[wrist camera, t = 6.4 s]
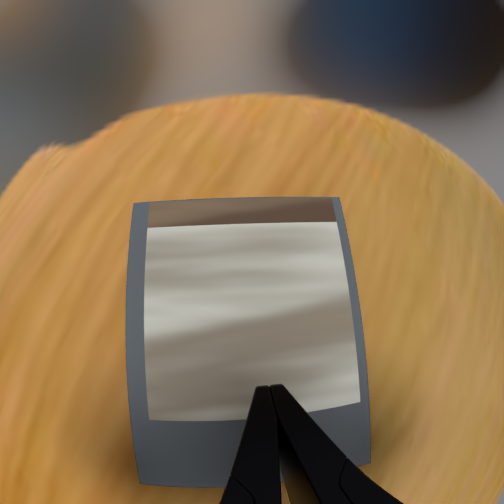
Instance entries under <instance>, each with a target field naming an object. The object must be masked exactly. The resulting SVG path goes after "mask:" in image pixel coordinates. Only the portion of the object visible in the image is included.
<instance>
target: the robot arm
mask: <svg viewBox="0 0 504 504" xmlns="http://www.w3.org/2000/svg"><path fill="white" fill-rule="evenodd" d="M280 469H281V473H282V476H283V479H284V483H285V486H286V489H287V493H288V496H289V499H290V503H291V504H403V503H402V502H400V501H399V500H398V499H396V498H395V497H393V496H392V495H391V494H389V493H388V492H387V491H385V490H384V489H382V488H381V487H380V486H378V485H377V484H376V483H375V482H373V481H372V480H371V479H370V478H369V477H367V476H366V475H365V474H364V473H363V472H362V471H361V470H360V469H359V468H358V467H357V466H356V465H355V464H354V463H353V462H352V461H351V460H350V459H349V458H347V456H346V455H345V454H344V453H343V452H342V451H341V450H340V448H339V447H338V446H337V445H336V444H335V443H334V442H333V441H332V440H331V439H330V438H329V437H328V435H327V434H326V433H325V432H324V431H323V430H322V429H321V428H320V427H319V425H318V424H317V423H316V422H315V421H314V420H313V419H312V418H311V416H310V415H309V414H308V413H307V412H306V411H305V410H304V408H303V407H302V406H301V405H300V404H299V403H298V401H297V400H296V399H295V398H294V397H293V396H292V394H291V393H290V392H289V391H288V390H287V389H286V387H285V386H284V385H283V384H272V385H270V386H268V385H261V386H256V387H255V391H254V394H253V398H252V401H251V405H250V409H249V412H248V416H247V419H246V423H245V426H244V430H243V433H242V436H241V440H240V443H239V447H238V450H237V453H236V457H235V460H234V463H233V466H232V470H231V473H230V476H229V479H228V482H227V485H226V488H225V491H224V493H223V496H222V499H221V501H220V503H219V504H282V503H281V480H280Z"/></svg>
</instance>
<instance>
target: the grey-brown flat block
mask: <svg viewBox="0 0 504 504" xmlns="http://www.w3.org/2000/svg"><path fill="white" fill-rule="evenodd" d="M144 349H145V372H146V388H147V401H148V413H149V420H164V421H224V420H242V419H247V416H248V412H249V409H250V405H251V401H252V398H253V394H254V391H255V387H256V386H261V385H268V386H270V385H272V384H283V385H284V386H285V387H286V389H287V390H288V391H289V392H290V393H291V394H292V396H293V397H294V398H295V399H296V400H297V401H298V403H299V404H300V405H301V406H302V407H303V408H304V410H305V411H306V412H312V411H318V410H323V409H329V408H334V407H339V406H344V405H349V404H353V403H358V402H360V388H359V374H358V363H357V352H356V342H355V333H354V325H353V317H352V309H351V302H350V295H349V288H348V282H347V276H346V270H345V264H344V258H343V252H342V247H341V241H340V236H339V231H338V226H337V221H336V216H335V211H334V207H333V202H332V198H239V199H209V200H187V201H169V202H153V203H150V206H149V216H148V228H147V242H146V258H145V283H144Z"/></svg>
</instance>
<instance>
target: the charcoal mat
mask: <svg viewBox="0 0 504 504" xmlns="http://www.w3.org/2000/svg"><path fill="white" fill-rule="evenodd" d="M246 198H332V202H333V207H334V211H335V216H336V221H337V226H338V231H339V236H340V241H341V247H342V252H343V258H344V264H345V270H346V276H347V282H348V288H349V295H350V302H351V309H352V317H353V325H354V333H355V342H356V352H357V363H358V374H359V388H360V402H358V403H353V404H349V405H344V406H339V407H334V408H329V409H323V410H318V411H312V412H307V413H308V414H309V415H310V416H311V418H312V419H313V420H314V421H315V422H316V423H317V424H318V425H319V427H320V428H321V429H322V430H323V431H324V432H325V433H326V434H327V435H328V437H329V438H330V439H331V440H332V441H333V442H334V443H335V444H336V445H337V446H338V447H339V448H340V450H341V451H342V452H343V453H344V454H345V455H346V456H347V458H349V459H350V460H351V461H352V462H353V463H354V464H355V465H356V466H361V465H364V464H367V463H371V437H370V406H369V389H368V375H367V363H366V353H365V343H364V334H363V326H362V318H361V310H360V303H359V297H358V290H357V284H356V278H355V272H354V266H353V260H352V255H351V250H350V244H349V239H348V234H347V230H346V225H345V220H344V216H343V211H342V207H341V202H340V198H339V197H246ZM213 199H239V198H213ZM190 200H209V199H190ZM171 201H187V200H171ZM155 202H169V201H155ZM150 203H153V202H141V203H134V204H133V212H132V221H131V230H130V240H129V252H128V266H127V285H126V367H127V385H128V399H129V410H130V420H131V429H132V437H133V444H134V451H135V458H136V464H137V470H138V475H139V480H140V484H148V485H158V486H172V487H196V488H216V487H226V485H227V482H228V479H229V476H230V473H231V470H232V466H233V463H234V460H235V457H236V453H237V450H238V447H239V443H240V440H241V436H242V433H243V430H244V426H245V423H246V419H242V420H224V421H164V420H149V413H148V401H147V388H146V372H145V349H144V283H145V258H146V242H147V228H148V216H149V206H150ZM280 480H281V482H284V479H283V476H282V473H281V469H280Z"/></svg>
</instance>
